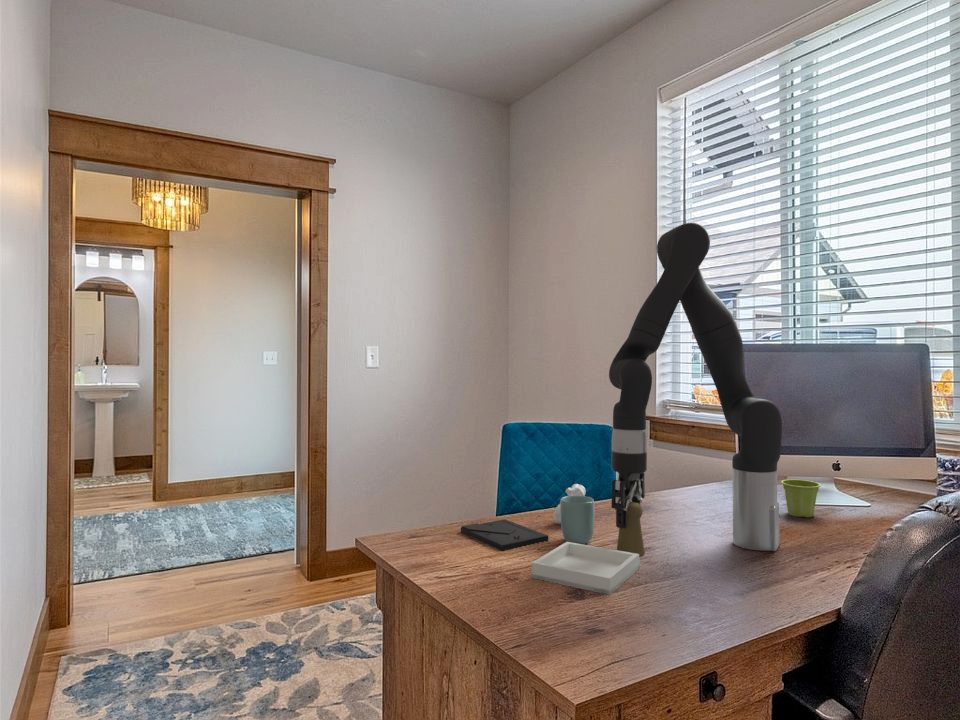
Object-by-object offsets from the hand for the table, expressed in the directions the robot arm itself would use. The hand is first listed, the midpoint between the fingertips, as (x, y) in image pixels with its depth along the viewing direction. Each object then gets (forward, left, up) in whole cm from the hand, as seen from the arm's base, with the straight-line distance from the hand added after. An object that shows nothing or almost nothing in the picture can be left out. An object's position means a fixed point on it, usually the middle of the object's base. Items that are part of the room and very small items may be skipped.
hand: (628, 523), depth 132 cm
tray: (+3, +17, -6) cm, 18 cm away
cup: (+13, -1, -7) cm, 14 cm away
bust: (+21, -16, -7) cm, 27 cm away
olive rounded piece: (0, 0, -7) cm, 7 cm away
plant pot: (-28, -55, -7) cm, 62 cm away
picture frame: (+30, +4, -7) cm, 31 cm away
